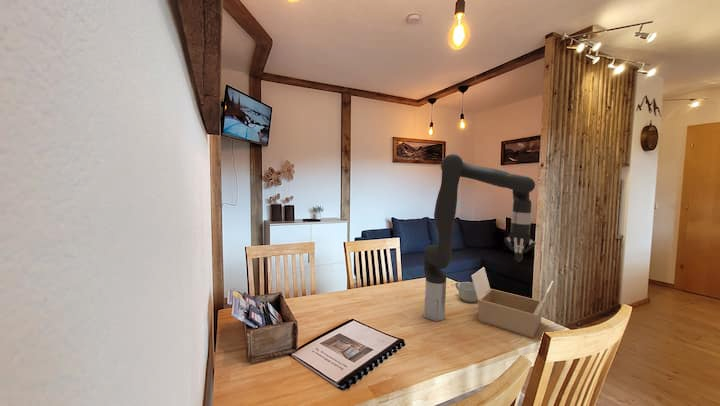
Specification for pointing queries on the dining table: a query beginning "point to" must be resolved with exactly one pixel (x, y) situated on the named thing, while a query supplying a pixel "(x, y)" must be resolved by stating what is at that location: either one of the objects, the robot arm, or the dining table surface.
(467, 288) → the teacup
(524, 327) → the carton
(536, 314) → the flap
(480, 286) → the flap
